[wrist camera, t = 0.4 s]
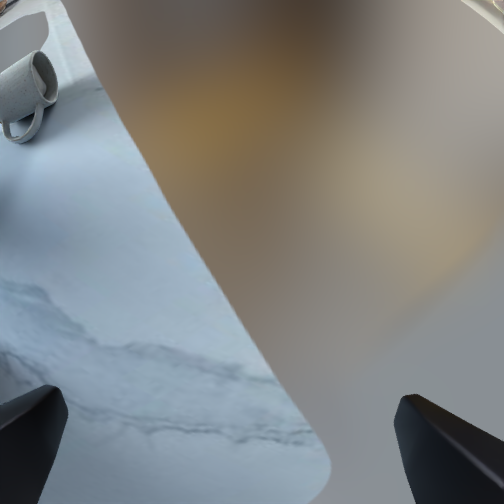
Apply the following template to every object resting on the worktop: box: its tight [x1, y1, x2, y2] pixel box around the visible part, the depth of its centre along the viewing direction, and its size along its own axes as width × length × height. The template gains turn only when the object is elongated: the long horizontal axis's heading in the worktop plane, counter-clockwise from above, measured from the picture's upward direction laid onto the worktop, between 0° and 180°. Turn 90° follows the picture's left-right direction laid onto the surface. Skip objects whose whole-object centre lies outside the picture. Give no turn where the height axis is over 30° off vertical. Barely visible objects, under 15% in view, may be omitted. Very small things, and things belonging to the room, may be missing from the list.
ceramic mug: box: [0, 50, 58, 144], centre depth 28 cm, size 11×8×8 cm
